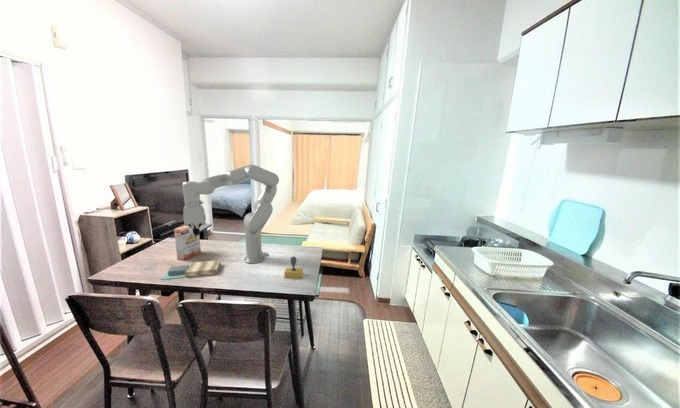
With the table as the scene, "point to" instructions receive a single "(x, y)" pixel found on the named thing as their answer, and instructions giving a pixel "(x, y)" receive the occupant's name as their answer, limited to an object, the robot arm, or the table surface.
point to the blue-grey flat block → (177, 270)
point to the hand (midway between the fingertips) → (196, 234)
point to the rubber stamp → (293, 270)
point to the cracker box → (186, 242)
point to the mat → (172, 276)
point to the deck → (203, 268)
